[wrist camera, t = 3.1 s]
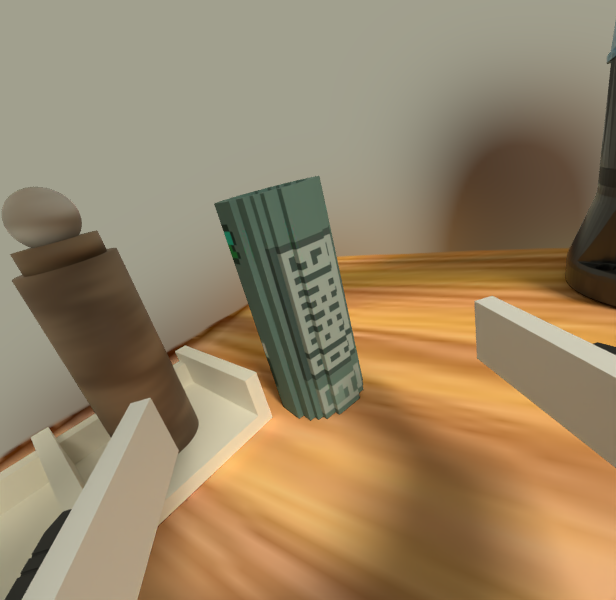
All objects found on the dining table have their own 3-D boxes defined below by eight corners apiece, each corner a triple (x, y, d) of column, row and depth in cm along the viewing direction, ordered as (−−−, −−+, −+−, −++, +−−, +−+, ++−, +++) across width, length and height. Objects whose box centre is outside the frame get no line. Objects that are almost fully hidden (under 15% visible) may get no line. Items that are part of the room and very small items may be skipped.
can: (325, 357, 29) (280, 184, 23) (378, 382, 24) (338, 171, 18) (269, 395, 26) (202, 206, 20) (317, 432, 21) (246, 198, 15)
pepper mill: (178, 403, 26) (70, 185, 19) (211, 425, 22) (94, 169, 16) (114, 449, 23) (-40, 205, 16) (142, 482, 19) (-39, 191, 13)
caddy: (201, 381, 30) (185, 345, 28) (272, 417, 23) (256, 372, 22) (-178, 648, 16) (-250, 604, 14) (-278, 938, 9) (-434, 911, 8)
